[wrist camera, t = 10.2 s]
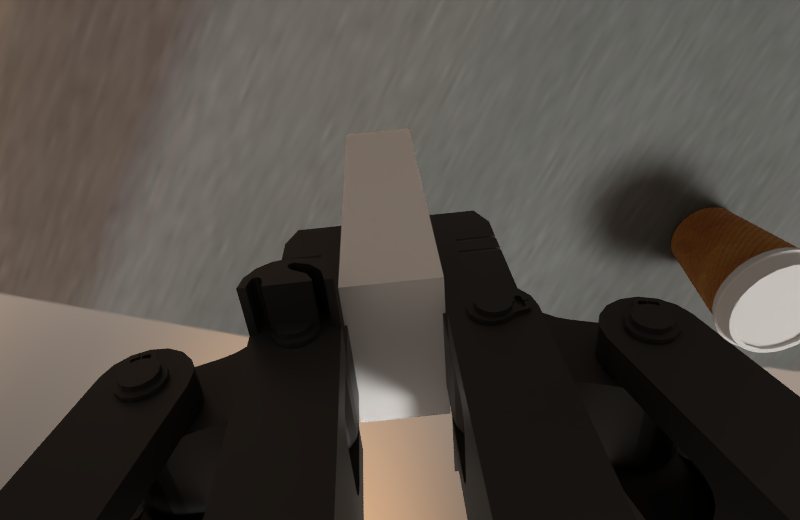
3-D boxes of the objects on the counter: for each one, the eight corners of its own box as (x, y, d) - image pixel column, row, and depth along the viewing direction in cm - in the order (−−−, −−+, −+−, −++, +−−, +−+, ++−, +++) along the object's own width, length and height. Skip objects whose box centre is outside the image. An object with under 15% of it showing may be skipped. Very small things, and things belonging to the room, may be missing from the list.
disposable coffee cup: (690, 178, 51) (774, 244, 40) (774, 206, 53) (874, 275, 43) (635, 264, 55) (699, 343, 45) (714, 287, 57) (792, 367, 47)
